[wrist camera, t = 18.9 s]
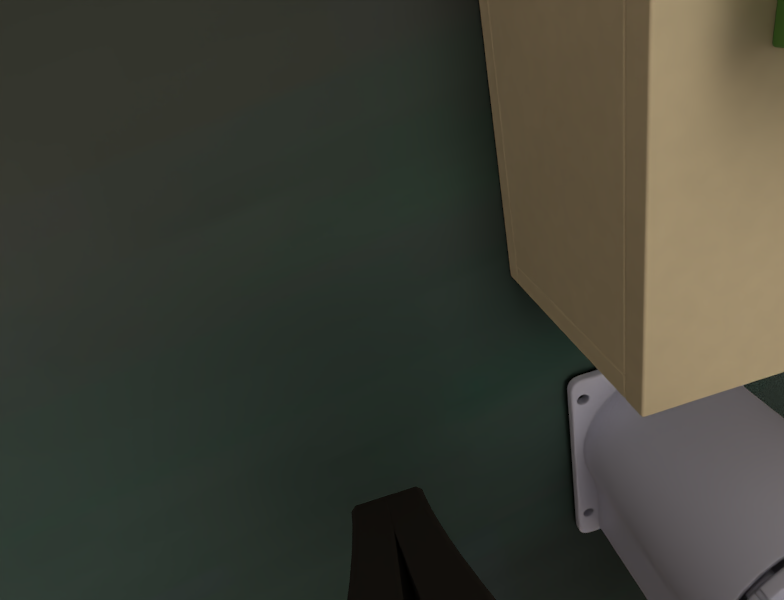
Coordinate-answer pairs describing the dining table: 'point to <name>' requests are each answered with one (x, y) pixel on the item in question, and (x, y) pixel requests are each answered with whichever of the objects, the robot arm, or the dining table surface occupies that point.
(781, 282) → the cabinet
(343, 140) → the dining table surface
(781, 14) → the green box
